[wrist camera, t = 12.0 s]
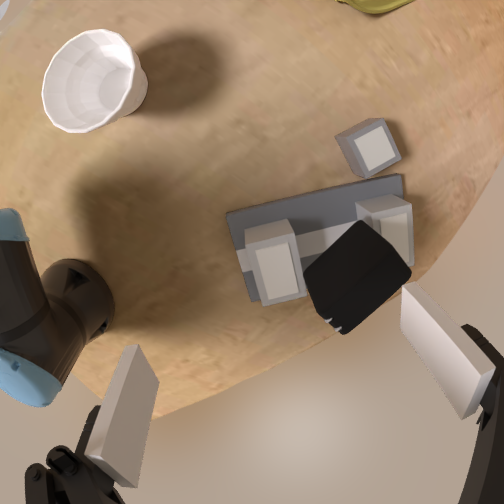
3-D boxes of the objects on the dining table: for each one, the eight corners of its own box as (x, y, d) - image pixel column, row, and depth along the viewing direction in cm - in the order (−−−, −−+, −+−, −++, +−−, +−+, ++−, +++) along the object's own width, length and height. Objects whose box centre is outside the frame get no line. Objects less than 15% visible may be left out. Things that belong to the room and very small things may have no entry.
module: (353, 173, 41) (366, 179, 36) (334, 136, 39) (346, 137, 34) (385, 155, 40) (402, 159, 35) (368, 118, 38) (383, 117, 33)
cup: (141, 34, 32) (112, 8, 22) (176, 102, 36) (154, 92, 26) (72, 81, 34) (29, 73, 23) (103, 147, 38) (63, 155, 28)
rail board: (251, 297, 48) (252, 325, 41) (226, 213, 42) (222, 230, 35) (403, 256, 46) (426, 277, 39) (396, 173, 41) (422, 182, 34)
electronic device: (377, 239, 37) (415, 274, 27) (321, 291, 39) (342, 338, 30) (359, 217, 35) (395, 247, 26) (300, 272, 38) (318, 317, 29)
